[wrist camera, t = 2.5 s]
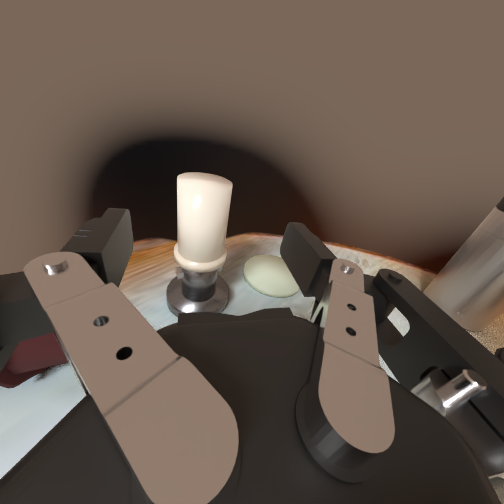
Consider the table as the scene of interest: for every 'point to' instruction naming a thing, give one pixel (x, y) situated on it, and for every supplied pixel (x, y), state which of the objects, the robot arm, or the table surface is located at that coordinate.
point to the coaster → (270, 276)
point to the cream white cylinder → (202, 221)
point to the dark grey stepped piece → (197, 292)
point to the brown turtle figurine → (31, 359)
